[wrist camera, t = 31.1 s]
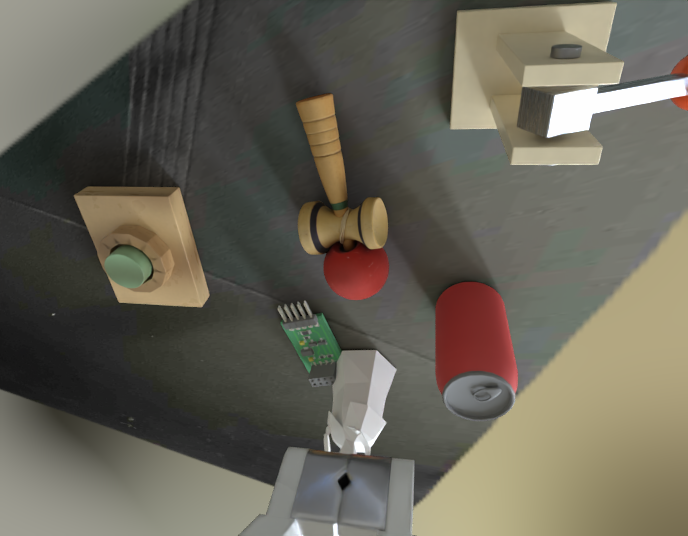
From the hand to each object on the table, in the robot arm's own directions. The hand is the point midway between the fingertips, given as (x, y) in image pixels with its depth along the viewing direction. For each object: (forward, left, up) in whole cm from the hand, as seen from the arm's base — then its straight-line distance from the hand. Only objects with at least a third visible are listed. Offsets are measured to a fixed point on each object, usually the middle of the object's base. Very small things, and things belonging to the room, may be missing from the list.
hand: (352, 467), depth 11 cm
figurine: (+29, -5, -31) cm, 43 cm away
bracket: (-3, +8, -31) cm, 32 cm away
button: (+13, -27, -27) cm, 41 cm away
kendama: (+7, -6, -31) cm, 33 cm away
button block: (+13, -27, -31) cm, 43 cm away
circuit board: (+25, -11, -32) cm, 42 cm away
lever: (-3, +12, -25) cm, 28 cm away
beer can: (+19, +6, -31) cm, 37 cm away
